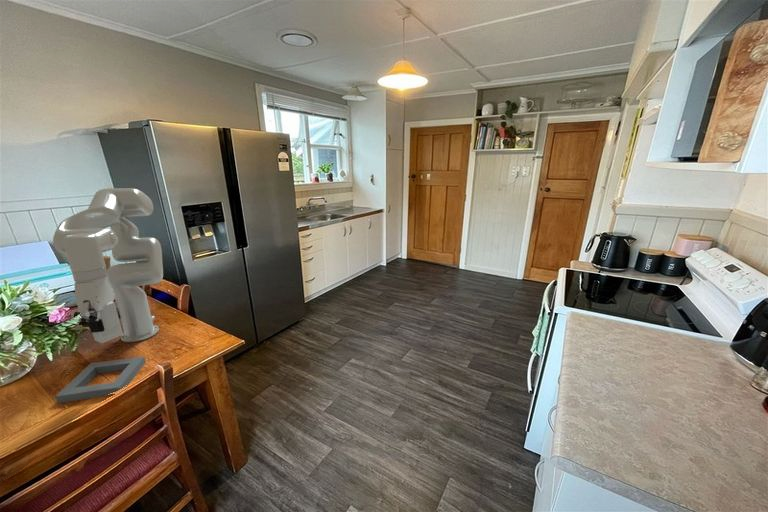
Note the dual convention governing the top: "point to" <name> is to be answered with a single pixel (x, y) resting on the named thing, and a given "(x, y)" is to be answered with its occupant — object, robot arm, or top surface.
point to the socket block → (81, 391)
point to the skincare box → (108, 324)
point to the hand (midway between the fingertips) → (105, 325)
